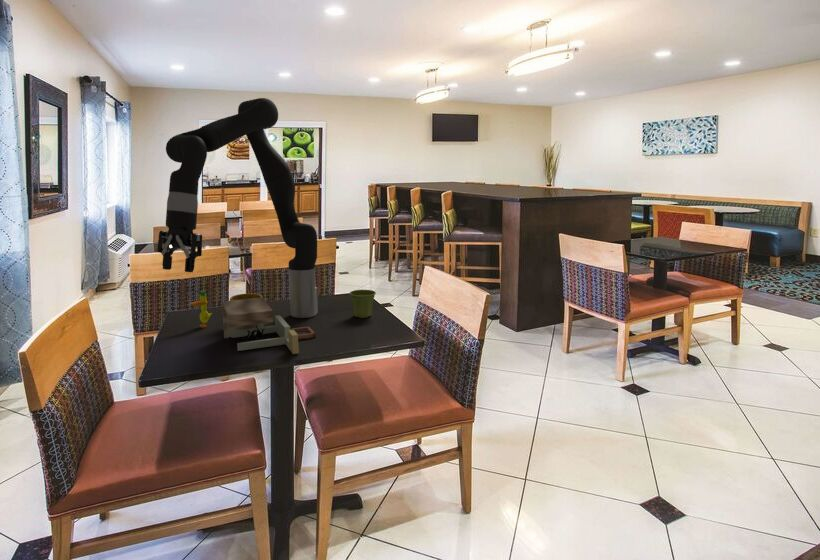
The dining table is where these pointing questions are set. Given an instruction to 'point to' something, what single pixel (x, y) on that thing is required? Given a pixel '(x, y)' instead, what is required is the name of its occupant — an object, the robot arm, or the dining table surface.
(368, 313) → the plant pot
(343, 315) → the dining table surface
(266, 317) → the tunnel
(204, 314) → the toy figure
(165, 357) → the dining table surface
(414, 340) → the dining table surface
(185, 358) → the dining table surface
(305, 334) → the brown tray
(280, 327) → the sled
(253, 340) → the creature
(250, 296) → the plant pot
